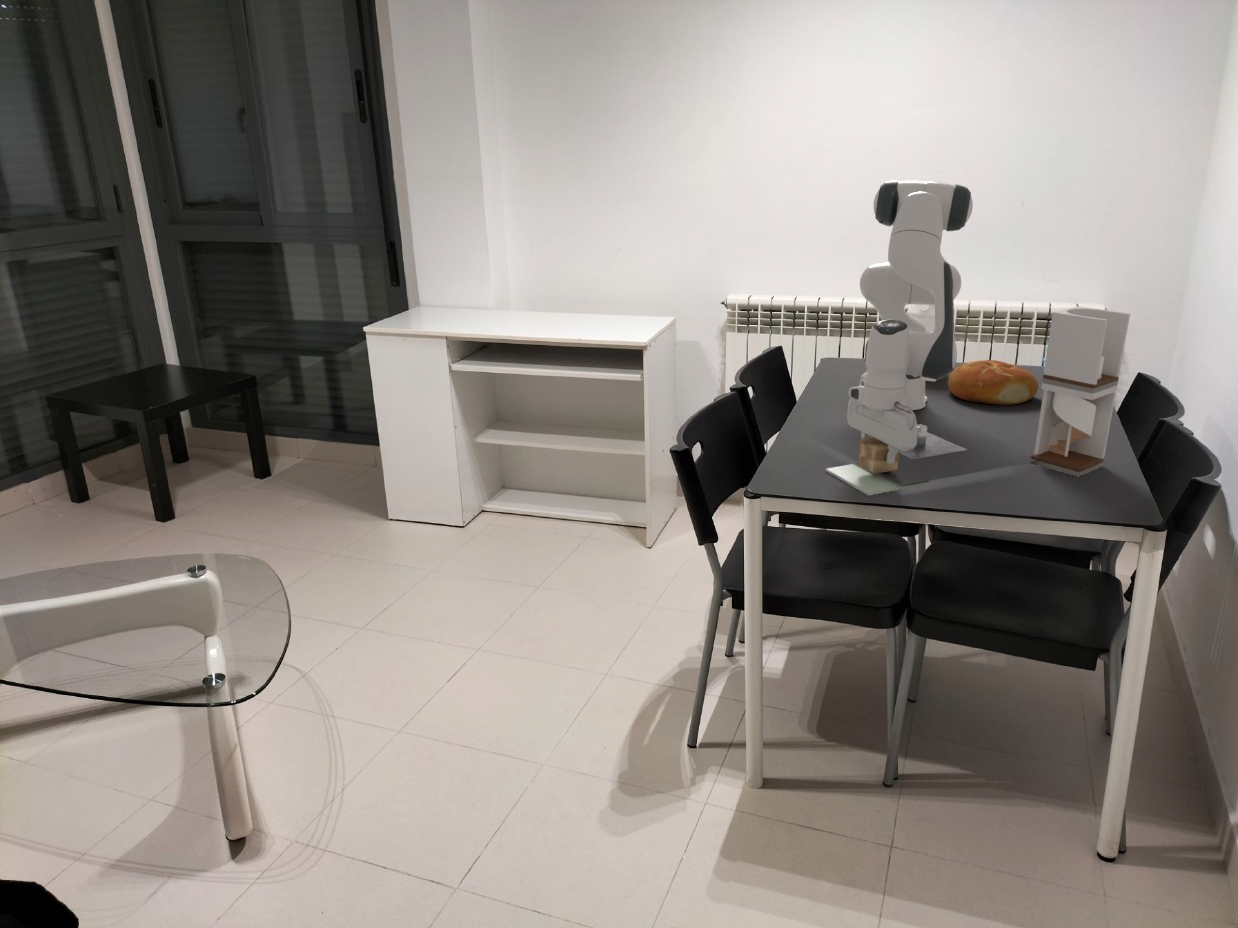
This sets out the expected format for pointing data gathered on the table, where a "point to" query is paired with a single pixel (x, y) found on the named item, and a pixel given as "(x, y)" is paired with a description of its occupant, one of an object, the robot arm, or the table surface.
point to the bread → (992, 383)
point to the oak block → (875, 456)
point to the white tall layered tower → (1079, 388)
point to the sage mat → (868, 479)
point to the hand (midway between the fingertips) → (878, 457)
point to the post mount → (930, 445)
